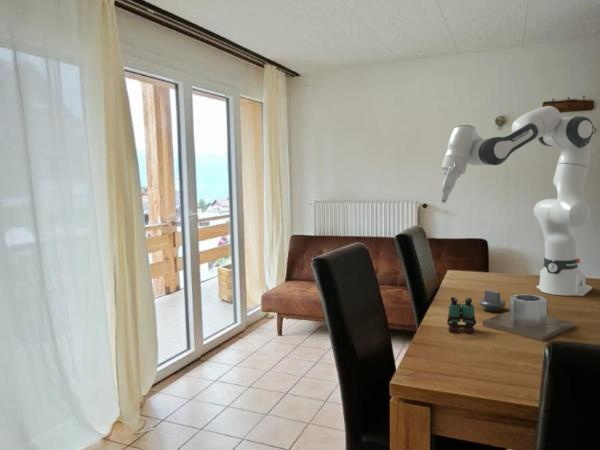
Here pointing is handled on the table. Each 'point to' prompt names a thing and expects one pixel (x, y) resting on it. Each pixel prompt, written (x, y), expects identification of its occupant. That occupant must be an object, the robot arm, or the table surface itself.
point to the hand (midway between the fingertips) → (443, 201)
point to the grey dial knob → (492, 301)
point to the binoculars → (456, 315)
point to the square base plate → (529, 318)
